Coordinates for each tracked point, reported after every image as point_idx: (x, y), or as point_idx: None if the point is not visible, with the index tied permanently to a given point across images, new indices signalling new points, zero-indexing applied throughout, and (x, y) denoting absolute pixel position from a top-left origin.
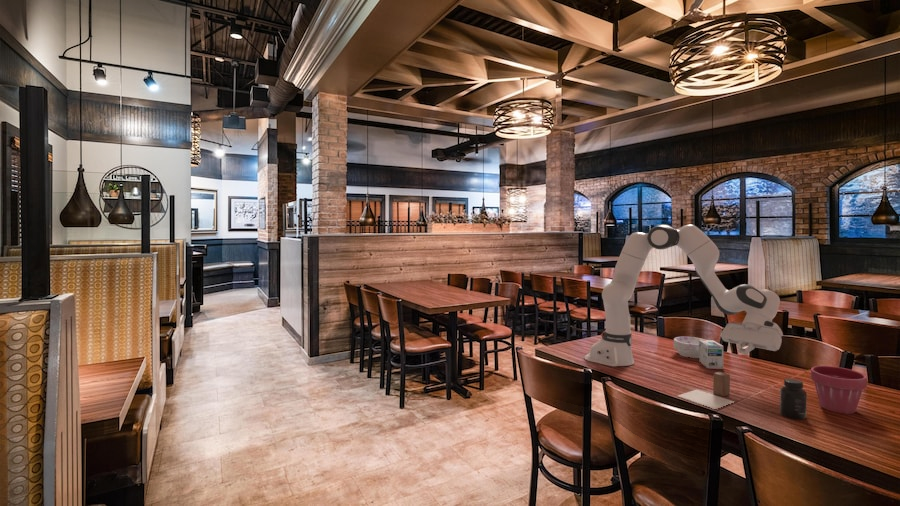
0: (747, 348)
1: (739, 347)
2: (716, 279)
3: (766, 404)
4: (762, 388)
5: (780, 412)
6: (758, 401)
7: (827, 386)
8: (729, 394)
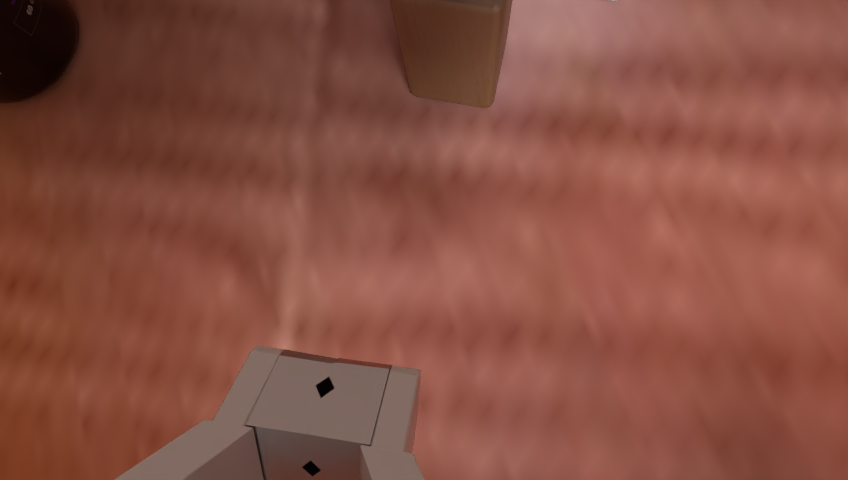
0: (202, 433)
1: (398, 447)
2: None
3: (177, 115)
4: None
5: (69, 5)
6: (230, 131)
7: None
8: (410, 89)
